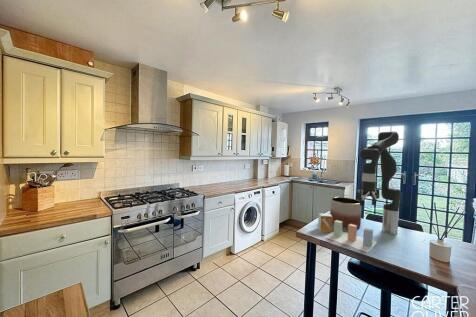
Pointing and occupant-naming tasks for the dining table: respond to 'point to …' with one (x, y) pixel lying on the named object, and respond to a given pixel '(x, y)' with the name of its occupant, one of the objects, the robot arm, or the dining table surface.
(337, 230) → the sage block
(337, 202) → the planter
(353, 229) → the terracotta block
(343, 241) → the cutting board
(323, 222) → the small box
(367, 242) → the slate blue block
